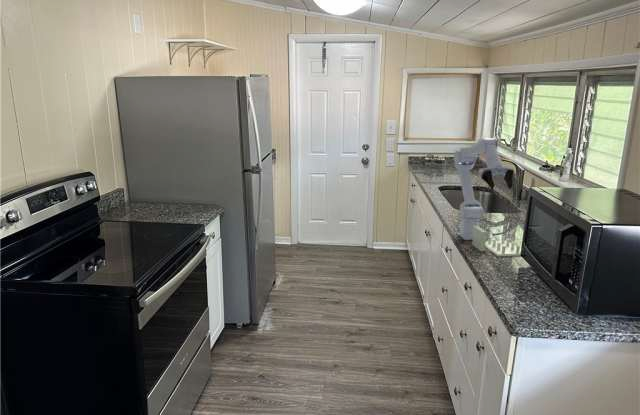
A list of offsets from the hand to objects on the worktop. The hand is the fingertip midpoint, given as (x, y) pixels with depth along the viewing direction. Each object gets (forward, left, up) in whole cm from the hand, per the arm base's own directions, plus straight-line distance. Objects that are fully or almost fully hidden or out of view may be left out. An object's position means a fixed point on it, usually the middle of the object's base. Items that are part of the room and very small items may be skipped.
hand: (501, 187), depth 180 cm
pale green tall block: (-12, -2, -31) cm, 33 cm away
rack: (-9, +8, -30) cm, 33 cm away
